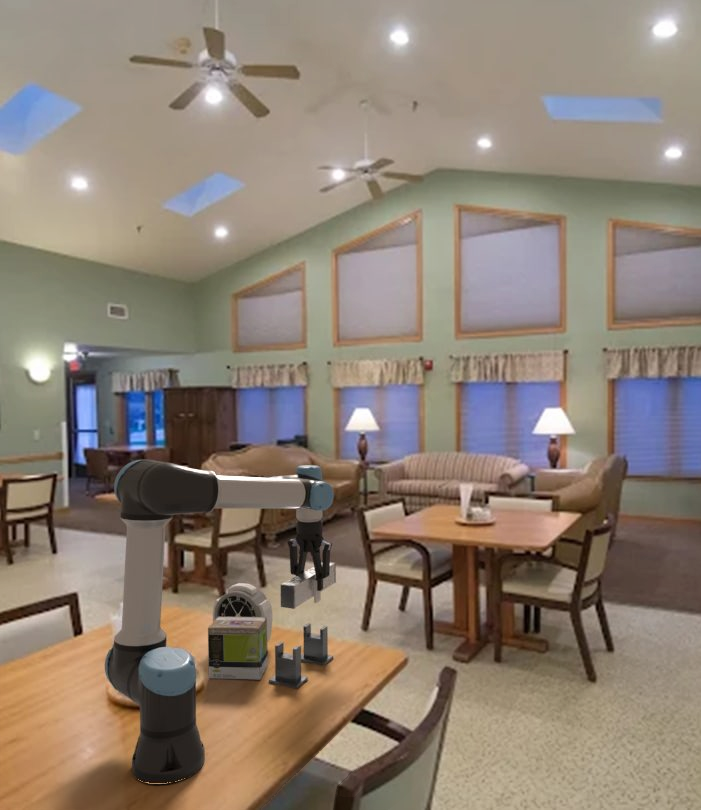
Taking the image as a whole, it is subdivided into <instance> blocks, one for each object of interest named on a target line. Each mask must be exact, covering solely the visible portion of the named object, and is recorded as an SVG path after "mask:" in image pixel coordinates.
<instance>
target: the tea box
mask: <svg viewBox="0 0 701 810" xmlns="http://www.w3.org/2000/svg"><path fill="white" fill-rule="evenodd" d="M207 643H208V644H207V645H208V646H207V647H208V648H207V649H208V651H207V653H208V655H207V656H208V657H207V658H208V677H209V678H208V679H220V680H221V679H223V680H224V679H225V680H226V679H228V680H229V679H230V680H257V681H260V680H261V679H262V677H263V675H264V674H265V672H266V669H267V667H268V662H269V660H268V642H267V618H266V617H218V618H217V619H216V620H215V621H214V622H213V621H212V623H211V624H210V625H209V626H208V628H207Z"/></svg>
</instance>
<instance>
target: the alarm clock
mask: <svg viewBox="0 0 701 810" xmlns="http://www.w3.org/2000/svg"><path fill="white" fill-rule="evenodd" d="M272 607H273V606H272V604H271V601H270V599H269V598H267V596H266V594H265V593H264V592H263V591H262V590H261V589H260V588H258V587H256V586H254V585H253V584H251V583H245V582H244V583H243V582H238V583H236V584H235V583H234V584H233V585H231V586H229V587H227V593H225V594H224V595H221V596H220V597H219V598H217V599H216V600H215V602H214V605H213V608H212V623H213V622H214V621H215V620H216V619H217V618H218V617H266V618H267V643H269V642H270V640H271V637H272V628H273V608H272Z"/></svg>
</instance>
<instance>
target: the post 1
mask: <svg viewBox="0 0 701 810" xmlns="http://www.w3.org/2000/svg"><path fill="white" fill-rule="evenodd" d="M284 650H285V649H284V641H280V642H278V643H277V644H275V645H274V661H275V662H274V665H275V666H274V668H275V669H274V672H275V674H274V675H273V676H271V677H270V678H269V679H268V683H269V684H274V685H278V686H283V687H287V688H291V689H297V690H298V688H300V687H301V686H302V685H304V683H306V682H307V681H308V680H309V677H308V676H305V675H302V661H301V655H302V645H301V644H300V645H299V644H297V645H296V646H294V647H293V648H292V654H291V653H287V652H284Z"/></svg>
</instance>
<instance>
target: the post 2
mask: <svg viewBox="0 0 701 810" xmlns="http://www.w3.org/2000/svg"><path fill="white" fill-rule="evenodd" d="M319 630H320V632H319V634H318V633H317V634H316V633H312V623H306V624H305V625H304V626H303V654H302V653H301V663H302V662H303V663H307V664H308V663H309V664H314V665H319V666H323V667H324V666H326V665H327V664H328V663H330V662H331V661H332V660H333V659H334V654H333V655H332V654H329V653H328V651H329V648H328V643H329V642H328V639H329V638H328V636H329V635H328V626H327V625H323V627H321V628H320V629H319Z"/></svg>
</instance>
